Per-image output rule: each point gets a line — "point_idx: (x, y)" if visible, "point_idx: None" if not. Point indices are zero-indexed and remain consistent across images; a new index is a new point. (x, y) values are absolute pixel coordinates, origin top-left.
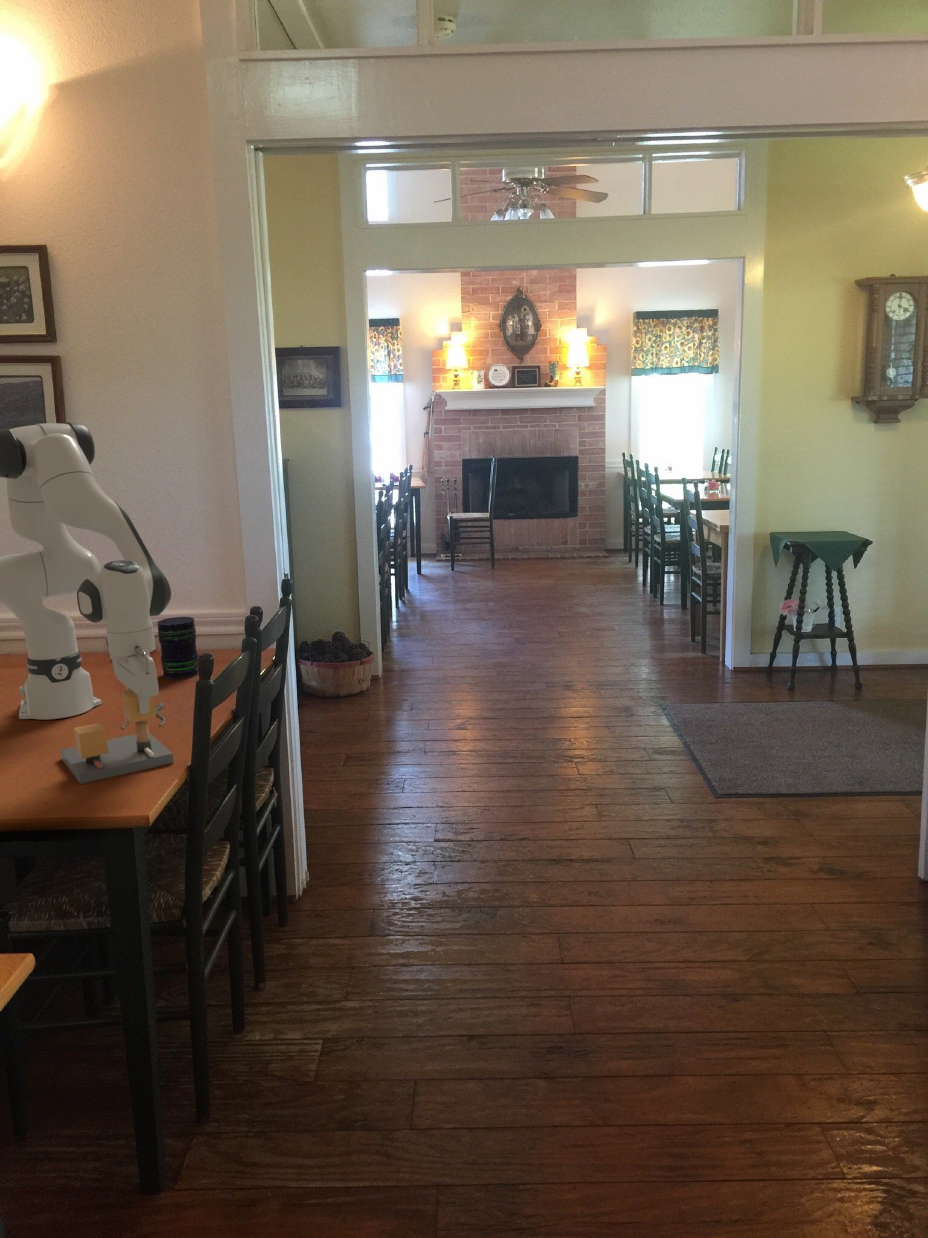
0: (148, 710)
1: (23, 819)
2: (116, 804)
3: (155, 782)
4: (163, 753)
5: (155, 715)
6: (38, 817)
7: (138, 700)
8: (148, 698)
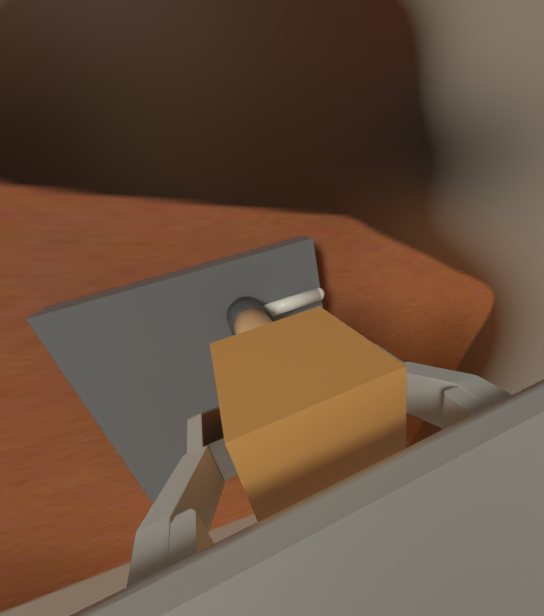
0: (381, 348)
1: (415, 440)
2: (443, 335)
3: (393, 278)
4: (299, 263)
5: (323, 310)
6: (420, 425)
7: (439, 421)
8: (463, 377)
